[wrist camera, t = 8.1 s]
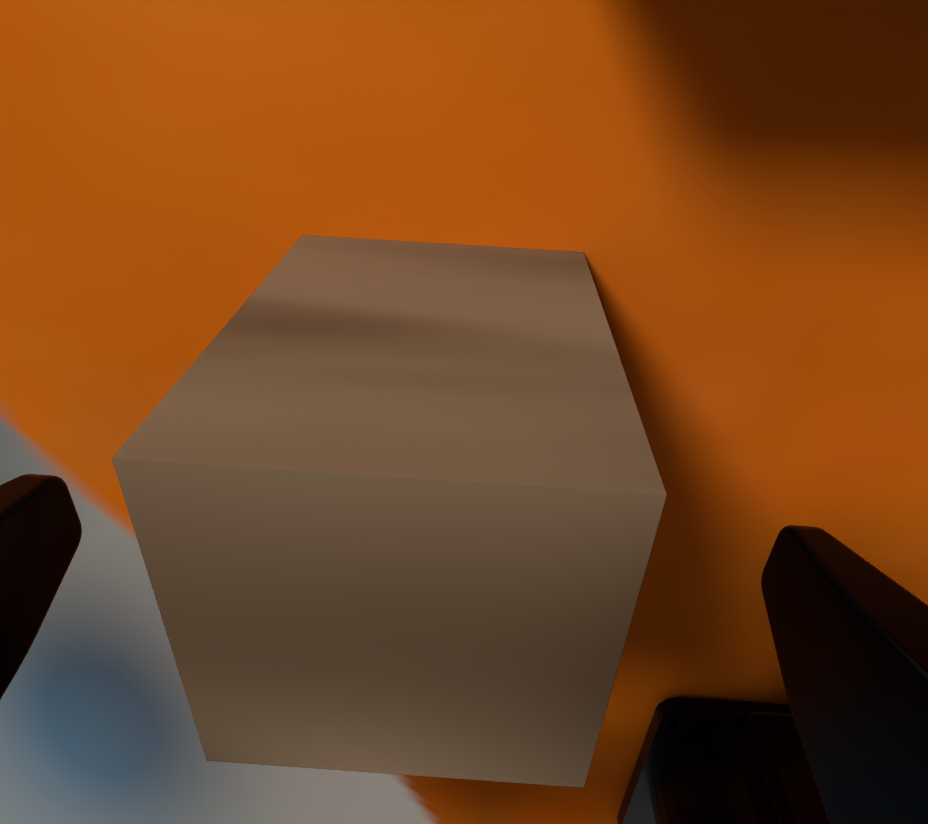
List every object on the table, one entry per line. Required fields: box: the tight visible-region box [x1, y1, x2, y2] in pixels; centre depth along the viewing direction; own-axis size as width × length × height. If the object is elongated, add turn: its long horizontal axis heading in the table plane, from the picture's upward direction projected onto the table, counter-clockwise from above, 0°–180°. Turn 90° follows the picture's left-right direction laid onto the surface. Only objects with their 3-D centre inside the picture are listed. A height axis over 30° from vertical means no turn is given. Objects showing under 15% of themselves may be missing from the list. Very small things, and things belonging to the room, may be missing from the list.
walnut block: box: [112, 235, 667, 788], centre depth 9 cm, size 4×4×6 cm
